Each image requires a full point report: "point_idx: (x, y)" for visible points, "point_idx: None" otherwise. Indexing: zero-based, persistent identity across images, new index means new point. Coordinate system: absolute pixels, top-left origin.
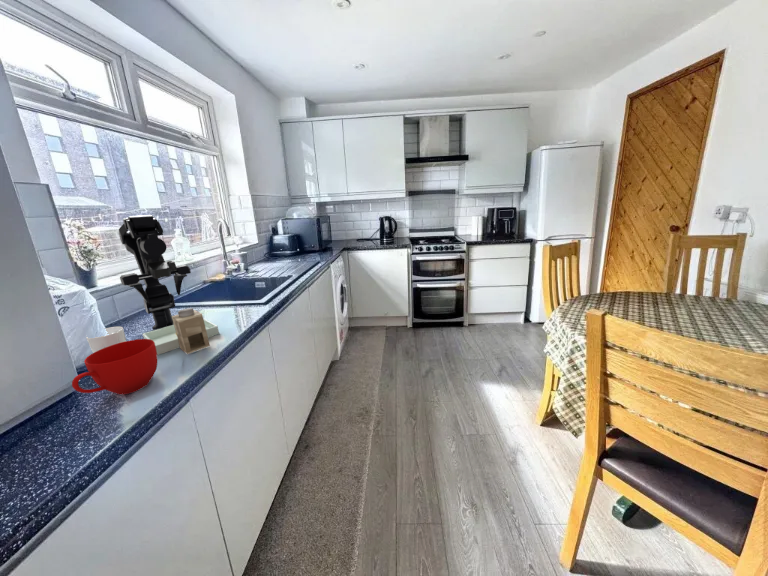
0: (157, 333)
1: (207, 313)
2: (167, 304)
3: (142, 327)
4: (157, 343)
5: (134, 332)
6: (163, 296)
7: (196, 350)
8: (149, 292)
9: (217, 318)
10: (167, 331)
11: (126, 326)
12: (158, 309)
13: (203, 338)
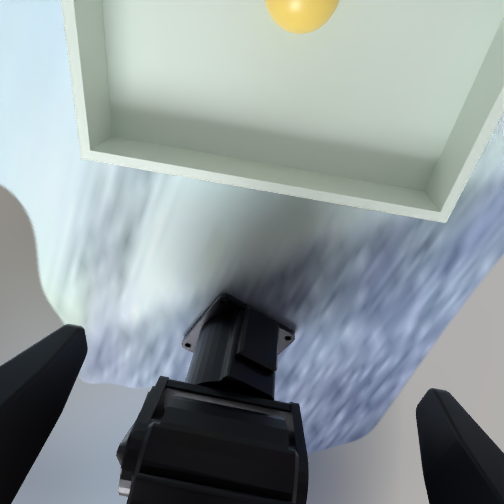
0: (367, 189)
1: (43, 289)
2: (191, 400)
3: (302, 387)
4: (450, 46)
5: (351, 366)
6: (187, 468)
7: None
8: None
9: (9, 149)
10: (310, 177)
11: (322, 441)
12: (241, 406)
13: None
